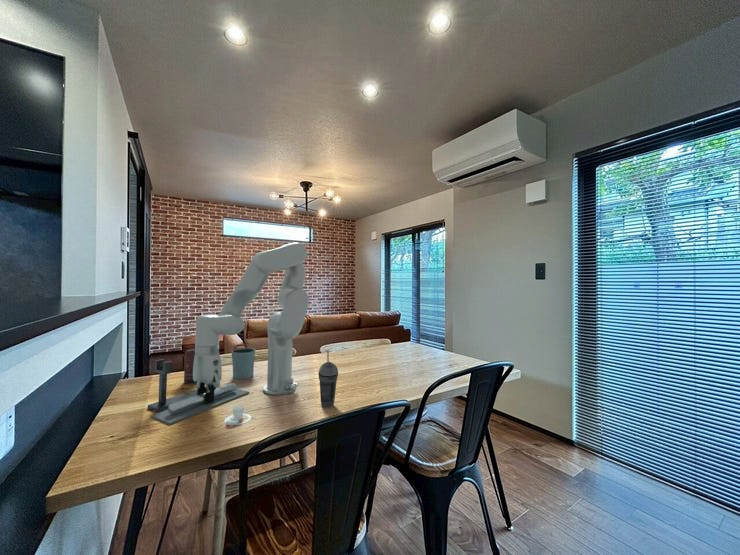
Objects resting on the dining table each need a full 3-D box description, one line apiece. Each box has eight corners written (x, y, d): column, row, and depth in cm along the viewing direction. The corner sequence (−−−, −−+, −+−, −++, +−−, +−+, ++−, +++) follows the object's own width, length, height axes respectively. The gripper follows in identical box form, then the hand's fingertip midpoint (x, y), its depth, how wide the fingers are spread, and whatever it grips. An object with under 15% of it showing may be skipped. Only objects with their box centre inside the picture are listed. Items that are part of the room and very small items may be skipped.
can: (193, 384, 126) (194, 351, 126) (180, 383, 128) (181, 350, 128) (204, 380, 132) (205, 348, 132) (191, 378, 134) (192, 347, 134)
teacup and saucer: (231, 430, 91) (232, 416, 91) (216, 422, 95) (217, 409, 95) (256, 419, 98) (256, 406, 98) (241, 413, 102) (241, 401, 102)
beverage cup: (320, 411, 104) (322, 353, 104) (314, 403, 111) (316, 348, 111) (340, 407, 107) (342, 351, 108) (333, 400, 114) (334, 347, 114)
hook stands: (222, 389, 121) (223, 350, 121) (157, 412, 100) (159, 364, 100) (212, 387, 124) (213, 348, 124) (147, 408, 103) (149, 361, 103)
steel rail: (231, 389, 119) (231, 382, 119) (236, 391, 118) (237, 383, 118) (167, 413, 97) (168, 403, 97) (173, 415, 96) (173, 405, 96)
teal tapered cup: (249, 380, 134) (249, 353, 134) (226, 379, 134) (227, 352, 134) (257, 373, 144) (258, 348, 144) (236, 372, 144) (237, 347, 144)
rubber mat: (249, 393, 119) (249, 391, 119) (169, 424, 92) (169, 423, 92) (231, 388, 123) (231, 387, 123) (151, 417, 96) (151, 415, 96)
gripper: (232, 350, 107) (230, 402, 107) (202, 345, 115) (200, 393, 115) (212, 355, 101) (211, 410, 100) (182, 348, 108) (180, 400, 108)
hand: (205, 400), depth 108 cm, fingers open, 3 cm apart
